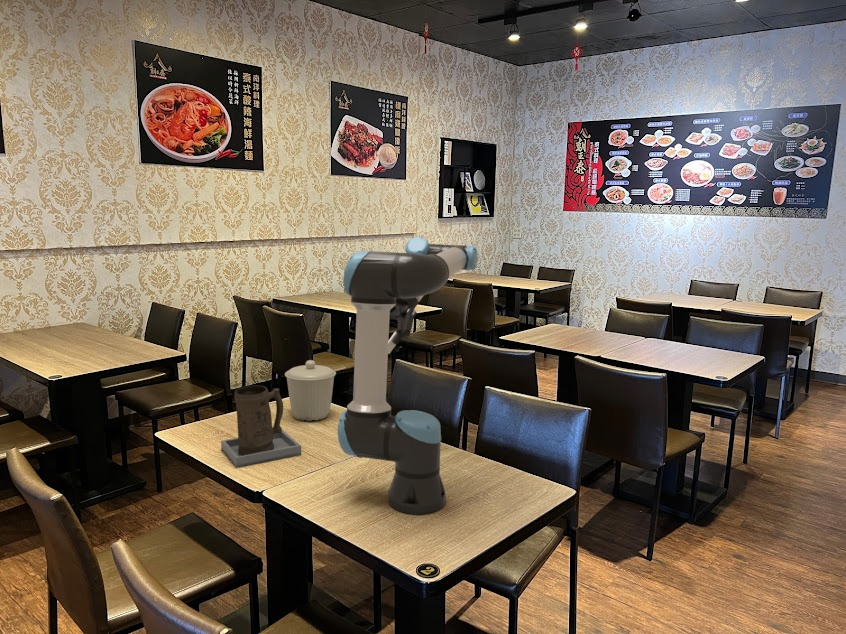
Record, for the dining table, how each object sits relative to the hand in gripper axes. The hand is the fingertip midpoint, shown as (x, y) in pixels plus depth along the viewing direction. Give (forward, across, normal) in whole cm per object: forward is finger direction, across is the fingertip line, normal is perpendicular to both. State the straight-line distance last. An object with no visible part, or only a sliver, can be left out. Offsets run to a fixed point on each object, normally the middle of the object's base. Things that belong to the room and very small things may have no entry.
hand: (372, 347), depth 196 cm
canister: (+23, +37, -24) cm, 49 cm away
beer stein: (+44, +18, -2) cm, 47 cm away
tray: (+44, +18, -2) cm, 47 cm away
